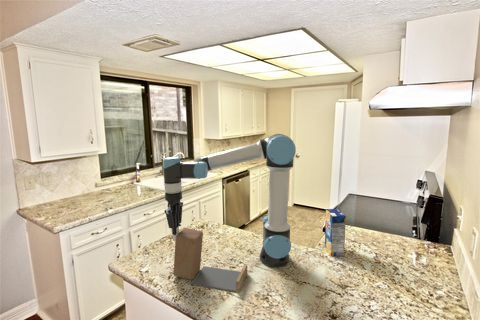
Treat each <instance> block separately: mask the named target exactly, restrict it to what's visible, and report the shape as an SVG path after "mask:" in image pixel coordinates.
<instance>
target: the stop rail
mask: <svg viewBox="0 0 480 320" xmlns="http://www.w3.org/2000/svg"><path fill="white" fill-rule="evenodd" d="M247 275H248V263H244V264H243V266H242V268H241V270H240V274H239V276H238V278H237V280H236V291H237V292H236V293H240V291H241V289H242V287H243V285H244V283H245V280H246V278H247Z"/></svg>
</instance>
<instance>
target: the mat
mask: <svg viewBox="0 0 480 320" xmlns="http://www.w3.org/2000/svg"><path fill="white" fill-rule="evenodd" d="M240 272H241V270H240V271H239V270H231V269H225V268H218V267H212V266H205V265H204V266H202V268H200V269H199V271H198V273H197V274H196V276H195V277H194V279H193V280H191V282H190V285H192V286H197V287H203V288H210V289H217V290H221V291H226V292H228V291H229V292H232V293H233V292H234V293H238V292H237V291H236V280H237V278H238V276H239V274H240Z"/></svg>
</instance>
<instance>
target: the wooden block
mask: <svg viewBox="0 0 480 320" xmlns="http://www.w3.org/2000/svg"><path fill="white" fill-rule="evenodd" d="M203 236H204V231H202V230H198V229H192V228H187V227H184V228H182V230H180V231H179V234H178V235H177V236H176V240H175V241H174V243H175V244H174V258H173V259H174V260H173V277H176V278H182V279H186V280H189V281H190V280H191V281H193V280H194V278H195V277H196V276H197V274H198V273H199V272H200V270H201V261H202V260H201V259H202V249H203V247H202V246H203V238H204V237H203Z"/></svg>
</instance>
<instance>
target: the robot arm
mask: <svg viewBox="0 0 480 320" xmlns="http://www.w3.org/2000/svg"><path fill="white" fill-rule="evenodd" d="M296 149H297V147H296V145H295V142H294V140H293V139H292V138H291V137H289V136H288V135H285V134H283V133H275V134H273V135H270V136H267V137H264V138H262V139H259V140H258V141H257V142H254V143H251V144H247V145H243V146H239V147H235V148H231V149H227V150H223V151H220V152H216V153H212V154H208V155H205V156H198V157H196V158H195V159H194V160H192V161H181V158H180V157H179V156H168V157H165V158H163V160H162V166H163V167H162V171H163V183H164V184H163V185H164V192H165V193H164V200H165V201H167V208H166V209H164V214H165V216H166V220H167V226H168V229H171V232H172V233H171V234H172V235H171V236H172V241H173V242H175V240H176V236H177V235H178V234H179V233H180V227H182V217H183V207H184V202H182V201H181V200H182V199H183V191H182V189H183V187H182V185H183V184H182V179H183V180H184V179H187V180H188V179H189V180H191V179H192V180H194V179H197V180H201V179H206V178H207V177H208V174H209V173H208V172H209V171H213V170H214V171H215V170H218V169H222V168H225V167H229V166H234V165H237V164H241V163H245V162H251V161H254V160H259V159H263V160H266V161H265V162H266V164H265V165H266V168H268V169H269V176H268V177H269V178H268V181H269V182H268V202H267V203H268V208H267V210H268V211H267V215H265V216H263V219H262V241H263V242H262V246H261V250H260V253H259V260H260V261H259V262H260V263H261V264H263V265H265V266H267V267H270V268H280V267H284V266H287V265H288V264H289V263H290V252H291V249H292V242H291V225H290V224H289V223H288V211H289V210H288V208H289V193H290V192H289V191H290V188H289V187H290V171H291V170H292V168H294V160H295V159H294V158H295V155H296V152H297V151H296Z"/></svg>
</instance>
